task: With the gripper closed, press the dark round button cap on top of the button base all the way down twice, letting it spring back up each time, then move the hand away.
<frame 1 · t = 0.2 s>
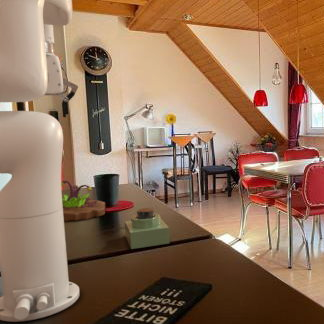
hand: (44, 117, 101), 31 cm above the table, tool pointing down, fingers open, 9 cm apart
plant: (73, 214, 125), on the table
button base: (147, 239, 97), on the table
dark round button cap: (145, 214, 96), point 7 cm above the table, slide at 0.1 cm
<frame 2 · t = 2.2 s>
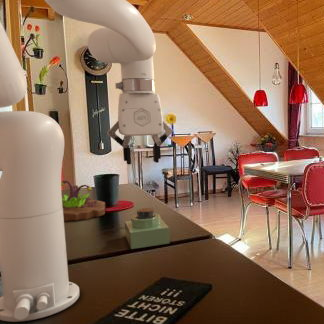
hand: (142, 162, 94), 20 cm above the table, tool pointing down, fingers open, 5 cm apart
nothing on the table moved.
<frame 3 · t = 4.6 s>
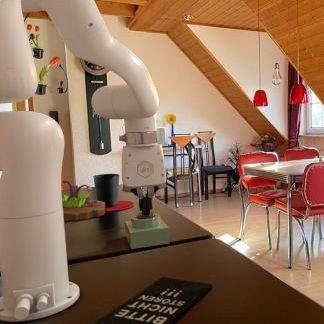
hand: (146, 213, 96), 7 cm above the table, tool pointing down, fingers closed
dark round button cap: (145, 217, 96), point 6 cm above the table, slide at -0.8 cm, touching gripper
everything else where it was.
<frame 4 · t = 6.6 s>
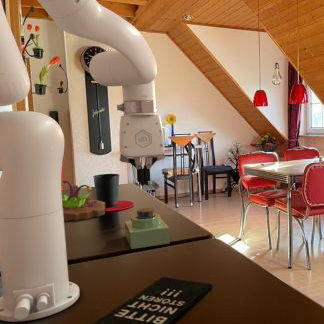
hand: (144, 184, 95), 14 cm above the table, tool pointing down, fingers closed
dark round button cap: (145, 214, 96), point 7 cm above the table, slide at 0.1 cm
everything else where it was.
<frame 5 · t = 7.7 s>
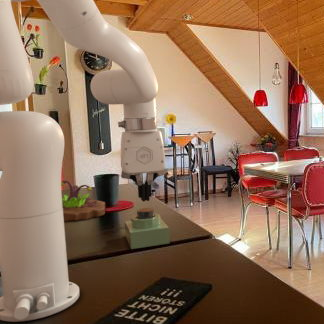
hand: (145, 200, 96), 10 cm above the table, tool pointing down, fingers closed
nothing on the table moved.
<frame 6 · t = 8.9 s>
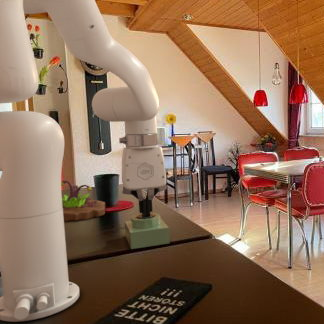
hand: (146, 215, 96), 6 cm above the table, tool pointing down, fingers closed
dark round button cap: (145, 219, 96), point 5 cm above the table, slide at -1.3 cm, touching gripper
everything else where it was.
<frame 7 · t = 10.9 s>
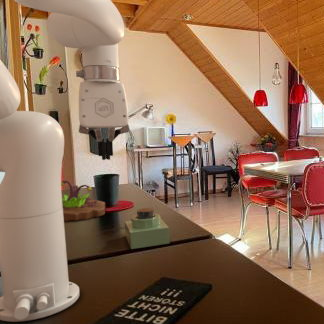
hand: (106, 159, 87), 21 cm above the table, tool pointing down, fingers closed
dark round button cap: (145, 214, 96), point 7 cm above the table, slide at 0.1 cm
everything else where it was.
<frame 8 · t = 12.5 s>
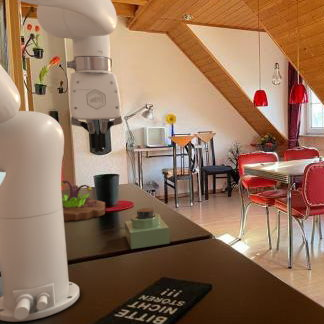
hand: (98, 151, 86), 23 cm above the table, tool pointing down, fingers closed
nothing on the table moved.
at the end: dark round button cap pushed in 1.3 cm at the most during the clip and back out by the end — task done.
